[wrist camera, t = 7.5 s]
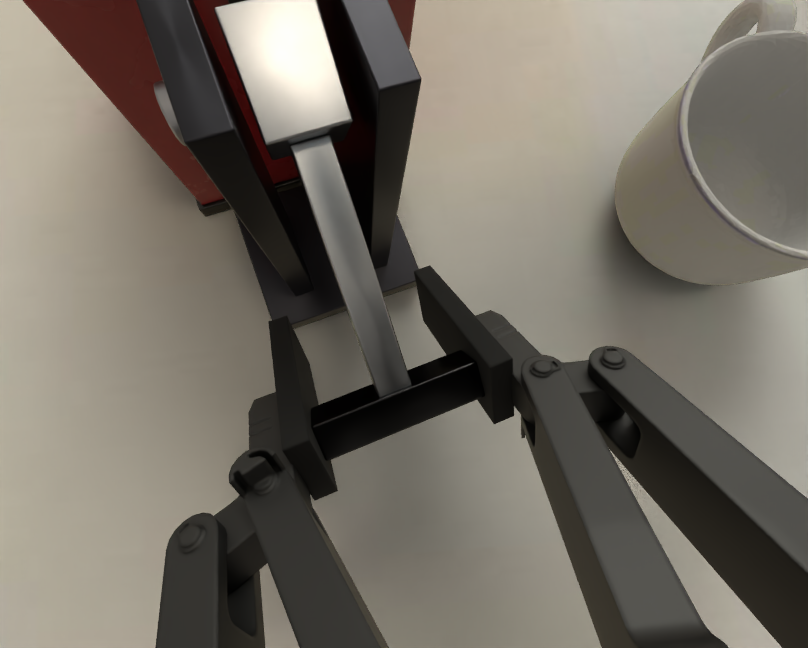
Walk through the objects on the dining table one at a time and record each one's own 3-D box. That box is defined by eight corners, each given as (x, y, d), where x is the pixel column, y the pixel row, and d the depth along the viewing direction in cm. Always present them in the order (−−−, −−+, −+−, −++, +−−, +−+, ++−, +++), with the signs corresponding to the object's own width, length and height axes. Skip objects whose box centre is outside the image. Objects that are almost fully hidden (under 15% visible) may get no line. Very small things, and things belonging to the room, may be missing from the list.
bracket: (419, 284, 22) (509, 113, 8) (280, 333, 21) (120, 227, 7) (375, 174, 23) (392, -143, 9) (239, 215, 22) (27, -80, 8)
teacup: (742, 321, 24) (932, 286, 16) (572, 275, 23) (680, 215, 15) (758, 122, 26) (927, 6, 18) (605, 76, 26) (712, -64, 18)
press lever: (464, 375, 15) (493, 403, 12) (322, 432, 14) (326, 473, 12) (367, 20, 11) (383, -32, 9) (169, 67, 10) (131, 23, 8)
